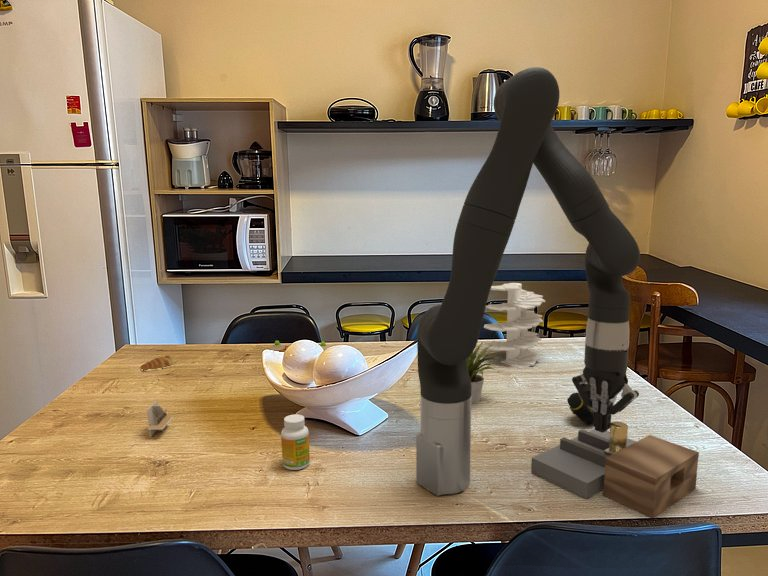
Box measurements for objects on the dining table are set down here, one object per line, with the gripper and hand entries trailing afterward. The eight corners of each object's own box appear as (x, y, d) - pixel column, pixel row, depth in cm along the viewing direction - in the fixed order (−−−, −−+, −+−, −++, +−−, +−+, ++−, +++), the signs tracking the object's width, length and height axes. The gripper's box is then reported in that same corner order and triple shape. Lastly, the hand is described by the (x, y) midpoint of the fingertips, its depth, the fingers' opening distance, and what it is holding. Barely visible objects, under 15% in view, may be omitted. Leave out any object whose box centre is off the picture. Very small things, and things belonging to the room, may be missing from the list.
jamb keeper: (652, 518, 92) (655, 478, 91) (603, 494, 99) (605, 458, 98) (695, 488, 101) (699, 452, 100) (647, 468, 108) (649, 435, 107)
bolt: (661, 484, 96) (664, 446, 95) (603, 460, 105) (605, 425, 103) (673, 477, 98) (676, 439, 97) (615, 454, 107) (617, 419, 106)
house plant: (470, 418, 132) (471, 352, 129) (428, 402, 142) (428, 340, 140) (507, 403, 141) (509, 340, 139) (465, 389, 152) (466, 330, 149)
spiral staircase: (538, 355, 181) (541, 279, 177) (545, 373, 164) (548, 289, 159) (481, 353, 184) (482, 278, 180) (482, 370, 167) (483, 288, 162)
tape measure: (587, 429, 128) (601, 420, 127) (572, 417, 125) (586, 407, 124) (574, 407, 134) (587, 398, 133) (559, 395, 131) (572, 386, 129)
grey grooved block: (586, 499, 98) (588, 472, 97) (531, 472, 107) (532, 447, 106) (651, 461, 111) (653, 437, 110) (596, 440, 120) (598, 418, 119)
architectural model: (174, 430, 129) (171, 399, 128) (163, 443, 122) (160, 411, 121) (159, 430, 129) (156, 400, 128) (148, 444, 122) (145, 411, 121)
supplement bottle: (297, 473, 108) (295, 426, 106) (276, 466, 111) (274, 420, 109) (315, 461, 112) (313, 416, 111) (294, 455, 115) (292, 410, 114)
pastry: (146, 376, 164) (145, 364, 164) (137, 371, 169) (135, 359, 168) (177, 369, 171) (176, 357, 170) (167, 363, 175) (166, 352, 175)
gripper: (563, 338, 106) (560, 424, 110) (629, 354, 96) (623, 448, 99) (586, 332, 111) (582, 414, 114) (652, 346, 101) (645, 437, 104)
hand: (601, 430), depth 107 cm, fingers closed
